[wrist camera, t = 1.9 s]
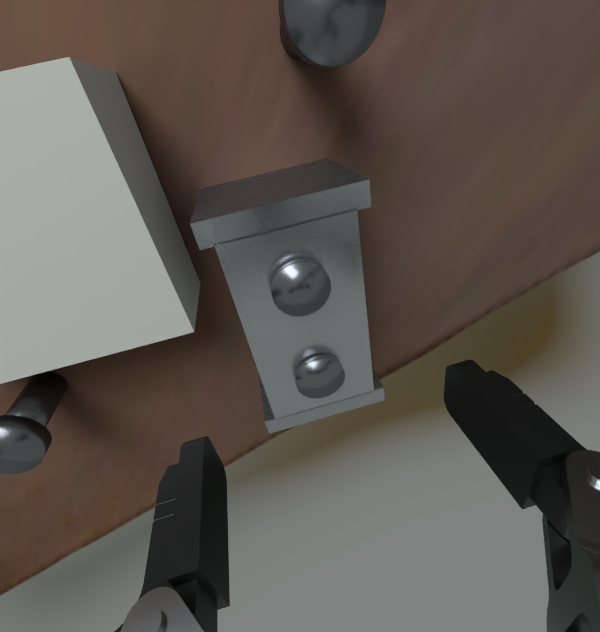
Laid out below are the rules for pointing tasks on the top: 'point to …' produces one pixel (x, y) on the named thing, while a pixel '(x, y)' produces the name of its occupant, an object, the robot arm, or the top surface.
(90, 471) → the top surface
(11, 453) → the bolt
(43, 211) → the stand
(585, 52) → the top surface
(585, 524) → the robot arm
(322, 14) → the bolt
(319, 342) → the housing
